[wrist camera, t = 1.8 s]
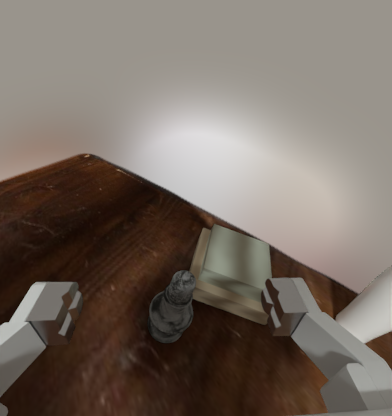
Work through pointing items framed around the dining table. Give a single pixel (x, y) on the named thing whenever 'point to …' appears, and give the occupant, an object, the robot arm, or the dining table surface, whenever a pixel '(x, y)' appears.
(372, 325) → the drinking glass
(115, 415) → the dining table surface
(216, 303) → the brick tower base
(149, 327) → the dark grey ornamental finial
